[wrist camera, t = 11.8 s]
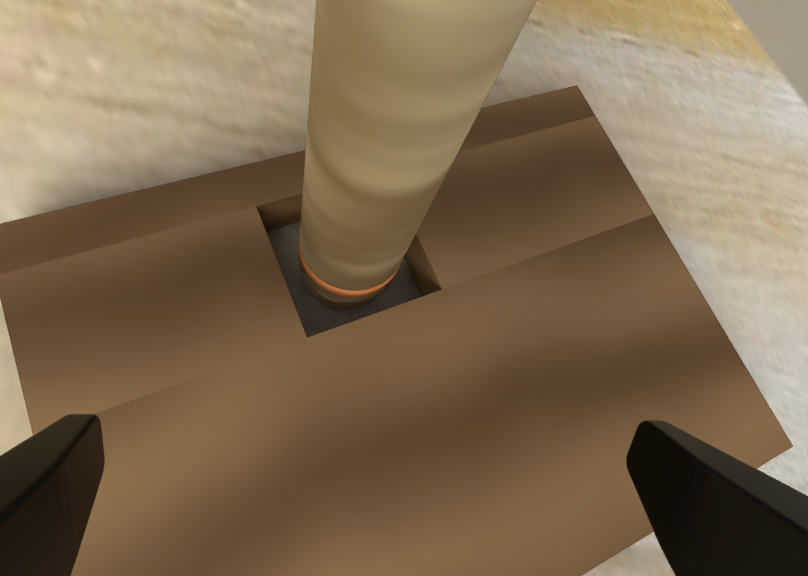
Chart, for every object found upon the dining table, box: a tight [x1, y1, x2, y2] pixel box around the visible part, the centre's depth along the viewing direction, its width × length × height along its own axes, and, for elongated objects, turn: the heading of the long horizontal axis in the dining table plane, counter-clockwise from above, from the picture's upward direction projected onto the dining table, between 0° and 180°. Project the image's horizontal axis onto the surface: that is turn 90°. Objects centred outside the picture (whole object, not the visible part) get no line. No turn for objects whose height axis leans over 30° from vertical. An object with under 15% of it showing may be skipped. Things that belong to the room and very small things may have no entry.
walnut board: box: [0, 86, 793, 576], centre depth 18 cm, size 16×22×2 cm
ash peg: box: [298, 0, 537, 309], centre depth 13 cm, size 3×3×16 cm
